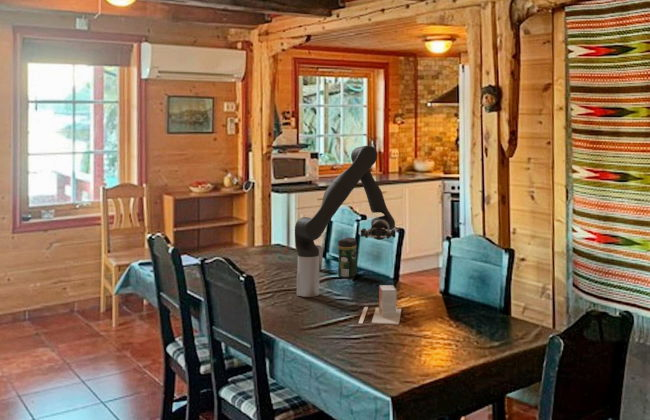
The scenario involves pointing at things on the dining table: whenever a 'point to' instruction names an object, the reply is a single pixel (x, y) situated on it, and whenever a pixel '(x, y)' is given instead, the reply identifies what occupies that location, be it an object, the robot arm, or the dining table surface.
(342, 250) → the coffee jar
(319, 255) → the cup
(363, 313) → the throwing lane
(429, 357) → the dining table surface
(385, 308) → the small box
